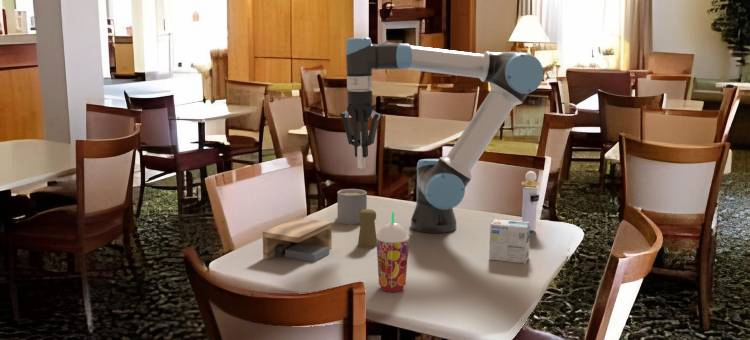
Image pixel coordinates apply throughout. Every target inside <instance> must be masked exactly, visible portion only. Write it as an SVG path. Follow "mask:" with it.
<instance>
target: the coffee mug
mask: <svg viewBox="0 0 750 340" xmlns="http://www.w3.org/2000/svg"><path fill="white" fill-rule="evenodd" d="M367 193H368V192H367V191H366V190H364V189H359V188H358V189H357V188H347V189H346V188H345V189H340V190H338V191H337V222H338V223H341V224H343V225H344V224H345V225H361V220H360V218H359V214H360V211H362V210H365V209H368V208H367V205H368V204H367V201H368V200H367V199H368V198H367V195H368V194H367Z"/></svg>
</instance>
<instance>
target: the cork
mask: <svg viewBox="0 0 750 340" xmlns="http://www.w3.org/2000/svg"><path fill="white" fill-rule="evenodd" d="M359 218H360V220H361V224H359V225H360V227H359V233H358V241H357V247H359V248H363V249H364V248H365V249H371V248H375V247H376V248H377V241H376V236H377V231H376V224H375V223H376V222H375V221H376V218H377V213H376V211H375V210H373V209H369V208H367V209H365V210H362V211H360V214H359Z"/></svg>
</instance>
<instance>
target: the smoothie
mask: <svg viewBox="0 0 750 340" xmlns="http://www.w3.org/2000/svg"><path fill="white" fill-rule="evenodd" d="M376 241H377V246H376V257H377V272H378V273H377V274H378V275H377V276H378V285H379V286H380V289H381V290H382V291H384V292H387V291H388V293H397V291H398V292H401V291H403V289H404V286H405V285H406V284H407V269H408V256H409V244H410V235H409V234H408V232H407V230H406V228H405V227H404V226H403V225H402V224H400V223H398V222H395V212H394V211H391V221H390V222H388V223H386V224H384V225H382V227H380V229H379V230H378V233H376Z"/></svg>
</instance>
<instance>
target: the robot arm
mask: <svg viewBox="0 0 750 340" xmlns="http://www.w3.org/2000/svg"><path fill="white" fill-rule="evenodd" d="M345 44H346V45H345V47H346V48H345V62H346V88H347V92H346V94H347V100H346V101H347V107H346V110H345V111H343V112H342V113H340V114H339V116H340V118H341V120H342V122H343V126H344V131H345V133H346V138H347V142H348V145H352V146H354V157H355V158H357V159H356V160H357V169H364V168H365V169H366V166H367V164H366V163H367V162H366V158H367V157H369V146H370V145H373V144H374V142H375V140H376V139H375V138H376V133H377V130H378V129H377V128H378V123H379V120H380V119H381V118H382V114H381V113H380V112H379V113H378V112H376V110H375V108H374V105H373V91H372V89H373V73H372V71H374V70H375V71H376V70H412V71H418V72H419V71H420V72H427V73H435V74H443V75H452V76H458V77H459V76H460V77H469V78H475V79H476V78H477V79H479V80H480V81H481V82H484V83H489V86H490V91H489V93H487V95H486V97H485V99H484V100H483V101H482V103H481V104H480V106H479V107H478V109H477V110H476V112H475V113H474V115H473V117H472V118H471V119H470V121H469V122H468V124H467V125H466V127H465V129H464V130H463V131H462V133H461V134H460V136H459V138H458V139H457V140H456V142H455V144H454V145H453V146H452V147H451V149H450V151H449V153H448V154H447V155H445V156H441V157H439V158H424V159H419V160H418V162H417V163H416V202H415V203H416V204H415V207H414V211H413V213H412V215H411V216H412V217H411V219H410V228H411V229H413V231H417V232H420V233H427V234H428V233H429V234H445V233H450V232H453V231H456V229H457V217H456V215H455V212H454V208H456V207H457V206H459V205H460V203H462V202H463V199H464V197H465V193H466V187H467V186H468V185H469V182H470V181H471V179H472V173H471V172H472V170H473V169H474V167H475V165H476V164H477V162H478V161H479V159H480V158H481V156H482V155H483V153H484V152H485V150H486V148H488V145H490V143H491V141H492V140H493V139H494V136H496V134H497V133H498V130H499V129H500V128H501V126H502V125H503V123H504V122H505V121H506V119H507V117H508V116H509V114H510V113H511V111H512V110H513V108H514V107H515V106H518V105H522V104H523V103H524V101H525V100H526V99H527V97H528V96H529V94H530V93H532V92H534V91H535V90H537V89H538V88H539V86H540V85H541V84H542V82H543V78H544V67H543V65H542V62H541V61H540V60H539V59H538V58H537V57H536V56H535V55H532V54H531V53H529V52H523V51H519V52H518V51H498V52H495V51H485V52H483V53H474V52H468V51H458V50H451V49H450V50H449V49H443V48H436V47H435V48H433V47H426V46H425V47H424V46H419V45H418V46H417V45H411V44H410V43H401V42H399V43H393V42H387V41H386V42H382V43H379V44H376V43H372V39H371V37H349V38H348V39H347V40H346V43H345ZM350 118H351V119H352V122H351V119H350ZM370 118H371V121H370V120H369V119H370ZM369 121H370V126H369ZM352 125H353V126H352Z"/></svg>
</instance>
